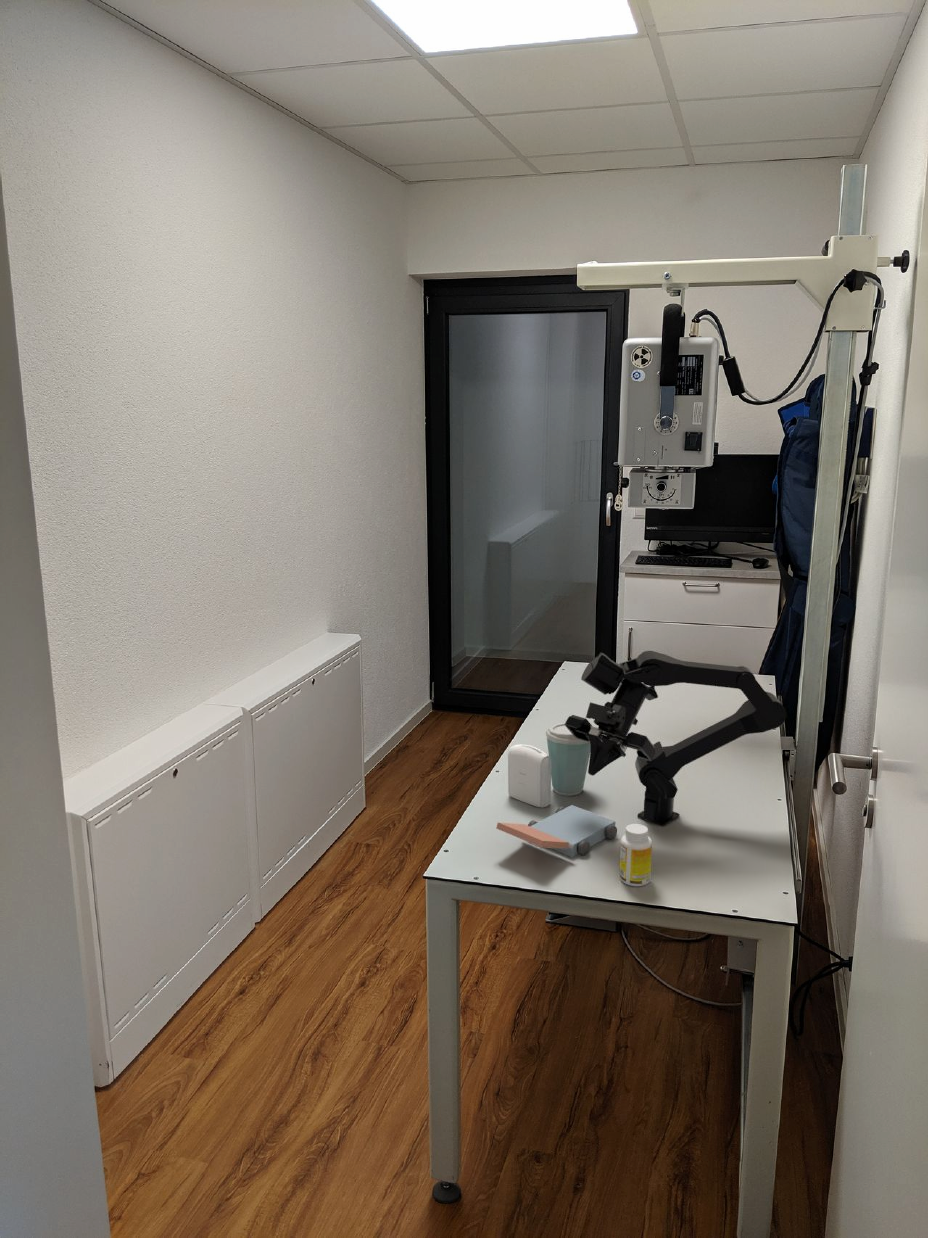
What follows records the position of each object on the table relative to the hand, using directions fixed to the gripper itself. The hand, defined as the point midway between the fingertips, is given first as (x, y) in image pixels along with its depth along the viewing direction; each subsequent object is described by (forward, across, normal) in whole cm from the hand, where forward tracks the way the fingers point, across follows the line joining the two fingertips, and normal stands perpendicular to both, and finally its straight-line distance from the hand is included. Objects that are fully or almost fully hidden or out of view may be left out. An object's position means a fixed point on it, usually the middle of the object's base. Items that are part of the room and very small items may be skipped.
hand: (590, 774), depth 186 cm
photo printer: (+6, -20, +14) cm, 25 cm away
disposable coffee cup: (-1, -17, +21) cm, 27 cm away
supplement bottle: (+15, +16, +4) cm, 22 cm away
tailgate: (+14, -3, +1) cm, 15 cm away
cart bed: (+11, -3, +8) cm, 14 cm away
